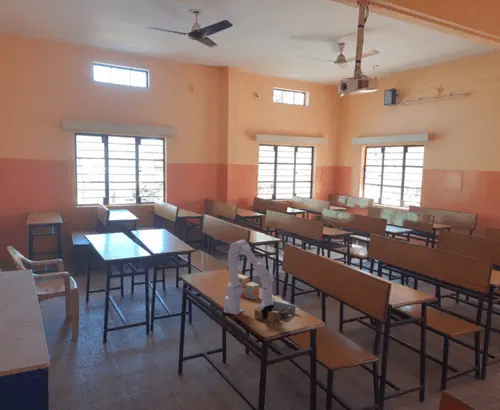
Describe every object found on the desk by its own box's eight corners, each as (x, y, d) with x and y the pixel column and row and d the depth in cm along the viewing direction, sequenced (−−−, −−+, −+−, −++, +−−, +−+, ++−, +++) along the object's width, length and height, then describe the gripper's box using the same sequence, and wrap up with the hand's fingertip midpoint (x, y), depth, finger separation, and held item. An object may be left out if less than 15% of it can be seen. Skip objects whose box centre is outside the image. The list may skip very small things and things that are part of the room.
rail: (254, 318, 223) (254, 310, 223) (257, 316, 226) (257, 307, 226) (276, 323, 216) (276, 315, 216) (279, 321, 219) (279, 313, 219)
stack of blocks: (259, 297, 256) (259, 279, 254) (252, 300, 251) (252, 282, 250) (237, 289, 271) (237, 272, 269) (230, 291, 266) (230, 274, 265)
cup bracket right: (288, 315, 228) (289, 309, 227) (283, 319, 222) (283, 313, 221) (282, 314, 230) (282, 307, 229) (277, 318, 224) (277, 311, 223)
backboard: (260, 308, 237) (260, 301, 236) (264, 306, 241) (264, 298, 241) (292, 316, 226) (292, 308, 226) (295, 313, 231) (295, 305, 230)
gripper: (267, 299, 211) (267, 323, 213) (279, 292, 224) (278, 314, 225) (256, 297, 215) (255, 320, 217) (268, 289, 227) (267, 311, 229)
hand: (266, 317), depth 221 cm, fingers closed on rail, 4 cm apart
